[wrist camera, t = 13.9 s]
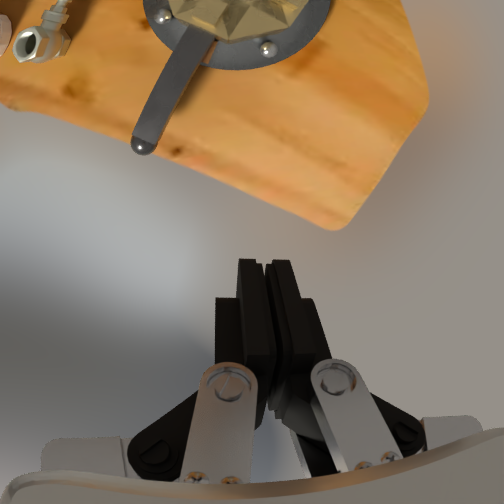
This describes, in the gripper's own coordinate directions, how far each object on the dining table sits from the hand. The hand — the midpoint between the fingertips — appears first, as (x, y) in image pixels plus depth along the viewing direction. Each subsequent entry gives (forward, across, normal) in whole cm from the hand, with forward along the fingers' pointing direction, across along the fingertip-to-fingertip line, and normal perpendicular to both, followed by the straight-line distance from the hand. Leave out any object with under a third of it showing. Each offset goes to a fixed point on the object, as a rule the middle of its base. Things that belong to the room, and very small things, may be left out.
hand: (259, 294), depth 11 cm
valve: (+25, +19, -15) cm, 35 cm away
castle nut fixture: (+23, +4, -10) cm, 25 cm away
